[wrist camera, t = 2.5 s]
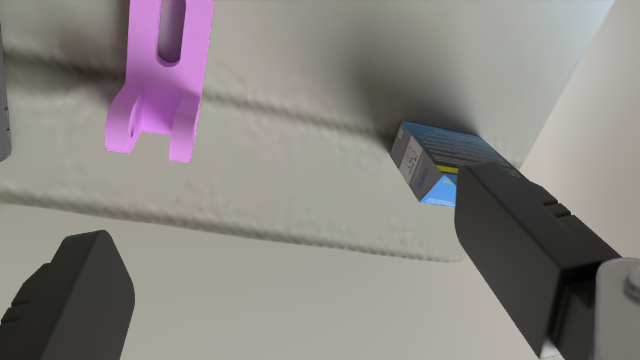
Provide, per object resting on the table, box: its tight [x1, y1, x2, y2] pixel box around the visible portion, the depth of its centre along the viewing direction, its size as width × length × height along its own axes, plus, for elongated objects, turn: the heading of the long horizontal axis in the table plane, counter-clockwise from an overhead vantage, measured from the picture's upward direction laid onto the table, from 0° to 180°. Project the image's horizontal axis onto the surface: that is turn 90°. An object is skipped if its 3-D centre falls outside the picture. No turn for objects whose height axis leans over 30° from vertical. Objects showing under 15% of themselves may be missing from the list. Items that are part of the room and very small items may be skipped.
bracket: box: [105, 0, 214, 163], centre depth 31 cm, size 13×6×7 cm, turn 165°
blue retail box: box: [390, 121, 528, 207], centre depth 36 cm, size 9×4×12 cm, turn 75°
